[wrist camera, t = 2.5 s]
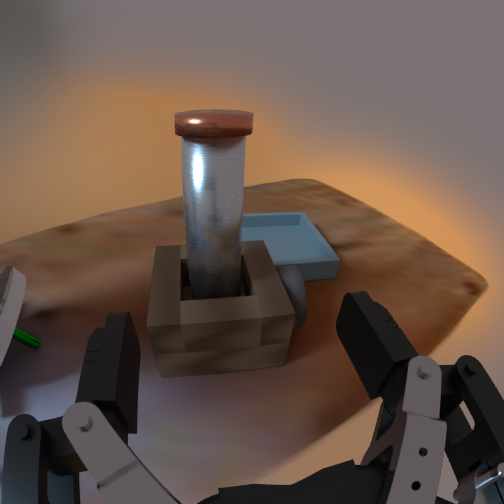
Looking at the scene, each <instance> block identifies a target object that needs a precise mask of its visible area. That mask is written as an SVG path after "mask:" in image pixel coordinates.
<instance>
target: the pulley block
mask: <svg viewBox="0 0 504 504" xmlns="http://www.w3.org/2000/svg"><path fill="white" fill-rule="evenodd" d="M306 312H307V297H306V289H305V284H304V280H303V277H302V274H301V272H300V270H299V269H298V268H297V267H296V266H295V265H289V266H276V267H275V265H274V263H273V261H272V258H271V256H270V254H269V252H268V249H267V247H266V245H265V243H264V240H256V241H242V245H241V275H240V297H230V298H217V299H203V300H191V290H190V280H189V269H188V258H187V245H171V246H156V252H155V258H154V265H153V272H152V280H151V288H150V296H149V305H148V314H147V325H146V327H147V330H148V334H149V337H150V341H151V344H152V348H153V351H154V354H155V358H156V361H157V364H158V367H159V370H160V374H161V377H175V376H192V375H205V374H217V373H228V372H237V371H246V370H254V369H261V368H269V367H276V366H282V365H285V361H286V357H287V352H288V348H289V343H290V338H291V333H292V329H296V328H301V327H302V326H303V324H304V322H305V319H306Z"/></svg>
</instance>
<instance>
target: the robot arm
mask: <svg viewBox="0 0 504 504" xmlns="http://www.w3.org/2000/svg"><path fill="white" fill-rule="evenodd" d="M336 330H337V334H338V336H339V338H340V340H341V342H342V344H343V346H344V348H345V350H346V352H347V354H348V356H349V358H350V360H351V361H352V363H353V365H354V367H355V369H356V371H357V373H358V375H359V377H360V379H361V381H362V383H363V385H364V387H365V389H366V391H367V393H368V395H369V397H370V399H374V398H377V397H380V396H381V397H382V399H383V402H382V403H381V406H380V410H379V415H378V419H377V422H376V426H375V430H374V434H373V437H372V441H371V444H370V446H369V448H368V450H367V451H366V453H365V455H364V457H363V459H362V462H361V464H360V465H355V463H354V461H353V459H352V460H349V461H346V462H343V463H340V464H337V465H334V466H330V467H327V468H323V469H321V470H319V471H318V472H316V473H314V474H312V475H310V476H308V477H306V478H305V479H303V480H301V481H299V482H297V483H295V484H292V485H267V484H265V485H264V484H249V485H242V486H234V487H225V488H218V490H219V493H218V494H215V495H212V496H210V497H208V498H206V499H204V500H202V501H200V502H199V503H197V504H454V503H452V502H449V501H447V500H444V499H442V498H440V497H438V496H436V495H437V490H438V485H439V480H440V475H441V469H442V463H443V456H444V450H445V452H446V455H447V457H448V459H449V462H450V464H451V466H452V469H453V471H454V474H455V476H456V478H457V481H458V486H457V489H456V490H455V491H454V493H453V497H454V499H455V500H458V504H504V400H503V398H502V397H501V395H500V393H499V392H498V390H497V388H496V387H495V385H494V383H493V382H492V380H491V378H490V377H489V375H488V374H487V373H486V371H485V369H484V368H483V366H482V365H481V363H480V362H479V361H478V360H477V359H476V358H474V357H472V356H469V355H464V356H461V357H460V358H459V359H458V360H457V362H456V363H455V365H438V364H437V363H436V362H435V361H434V360H433V359H431V358H429V357H426V356H419V355H418V353H417V352H416V350H415V349H414V347H413V346H412V344H411V343H410V342H409V340H408V339H407V337H406V336H405V334H404V333H403V331H402V330H401V329H400V328H399V326H398V324H397V323H396V322H395V320H393V317H392V316H391V315H390V313H389V312H388V310H387V309H386V308H384V307H383V306H382V305H380V304H379V303H378V302H373V301H372V299H371V298H370V296H369V295H368V294H367V292H365V291H359V292H352V293H346V294H345V296H344V298H343V302H342V305H341V308H340V312H339V315H338V318H337V321H336ZM139 368H140V345H139V340H138V337H137V334H136V331H135V328H134V325H133V321H132V318H131V315H130V313H129V312H125V313H109V314H108V316H107V320H106V325H105V328H96V330H95V331H94V332H93V334H92V335H91V336H90V338H89V340H88V344H87V349H86V353H85V357H84V363H83V366H82V371H81V376H80V381H79V386H78V392H77V397H76V401H75V404H73V405H71V406H70V407H69V408H68V409H67V410H66V411H65V413H64V415H63V416H61V417H58V418H54V419H49V420H44V421H40V422H38V421H37V420H36V419H35V418H34V417H33V416H31V415H28V414H21V415H18V416H16V417H15V418H14V419H13V420H12V421H11V422H10V424H9V427H8V431H7V438H6V445H5V454H4V464H3V478H2V504H80V487H79V472H83V471H89V472H90V474H91V475H92V477H93V478H94V480H95V481H96V483H97V489H98V491H99V493H100V495H101V496H102V498H103V499H104V500H105V502H106V503H107V504H182V503H181V502H180V501H179V500H178V499H177V498H176V497H175V496H174V495H173V494H171V493H170V492H169V491H168V490H167V489H166V488H165V487H164V486H163V485H162V484H161V483H160V482H159V480H158V479H157V478H156V477H155V476H154V475H153V474H152V473H151V472H150V471H149V470H148V468H147V467H146V466H145V465H144V464H143V463H142V462H141V460H140V459H139V458H138V457H137V456H136V454H135V453H134V452H133V451H132V450H131V448H130V447H129V446H128V433H129V434H137V409H138V385H139ZM462 401H464V402H465V404H466V406H467V408H468V410H469V411H470V413H471V415H472V417H473V419H474V422H475V426H474V429H473V430H472V429H471V427H470V425H469V423H468V421H467V419H466V417H465V415H464V414H463V411H462V410H461V408H460V406H459V405H460V404H461V402H462Z"/></svg>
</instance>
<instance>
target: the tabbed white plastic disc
mask: <svg viewBox="0 0 504 504" xmlns="http://www.w3.org/2000/svg"><path fill="white" fill-rule="evenodd" d="M25 289H26V277H25V276H24V275H23V274H21V273H20V272H18V271H17V270H16V269H14V268H13V267H11V266H10V265H8V266H6V267H5V269H4V270H3V271H2V273H1V274H0V366H1V364H2V362H3V360H4V357H5V355H6V352H7V350H8V347H9V344H10V342H11V339H12V338H14V339H15V340H17V341H19V342H21V343H23V344H25V345H27V346H29V347H31V348H33V349H35V350H37V349H38V347H39V344H40V339H38V338H36V337H35V336H33V335H31V334H29V333H27V332H25V331H24V330H22V329H20V328H18V327H16V324H17V320H18V317H19V314H20V310H21V307H22V303H23V299H24V294H25Z"/></svg>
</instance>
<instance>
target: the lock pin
mask: <svg viewBox="0 0 504 504" xmlns="http://www.w3.org/2000/svg"><path fill="white" fill-rule="evenodd" d="M252 129H253V113H251V112H246V111H238V110H195V111H185V112H180V113H176V114H175V134H176V135H178V136H181V137H182V138H181V142H182V174H183V175H182V176H183V198H184V216H185V231H186V245H187V258H188V269H189V280H190V290H191V300H203V299H217V298H230V297H240V275H241V245H242V216H243V190H244V163H245V140H246V135H250V134H252Z"/></svg>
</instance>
